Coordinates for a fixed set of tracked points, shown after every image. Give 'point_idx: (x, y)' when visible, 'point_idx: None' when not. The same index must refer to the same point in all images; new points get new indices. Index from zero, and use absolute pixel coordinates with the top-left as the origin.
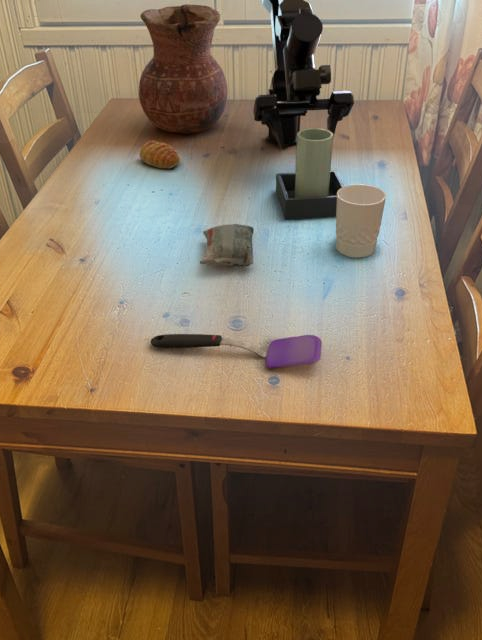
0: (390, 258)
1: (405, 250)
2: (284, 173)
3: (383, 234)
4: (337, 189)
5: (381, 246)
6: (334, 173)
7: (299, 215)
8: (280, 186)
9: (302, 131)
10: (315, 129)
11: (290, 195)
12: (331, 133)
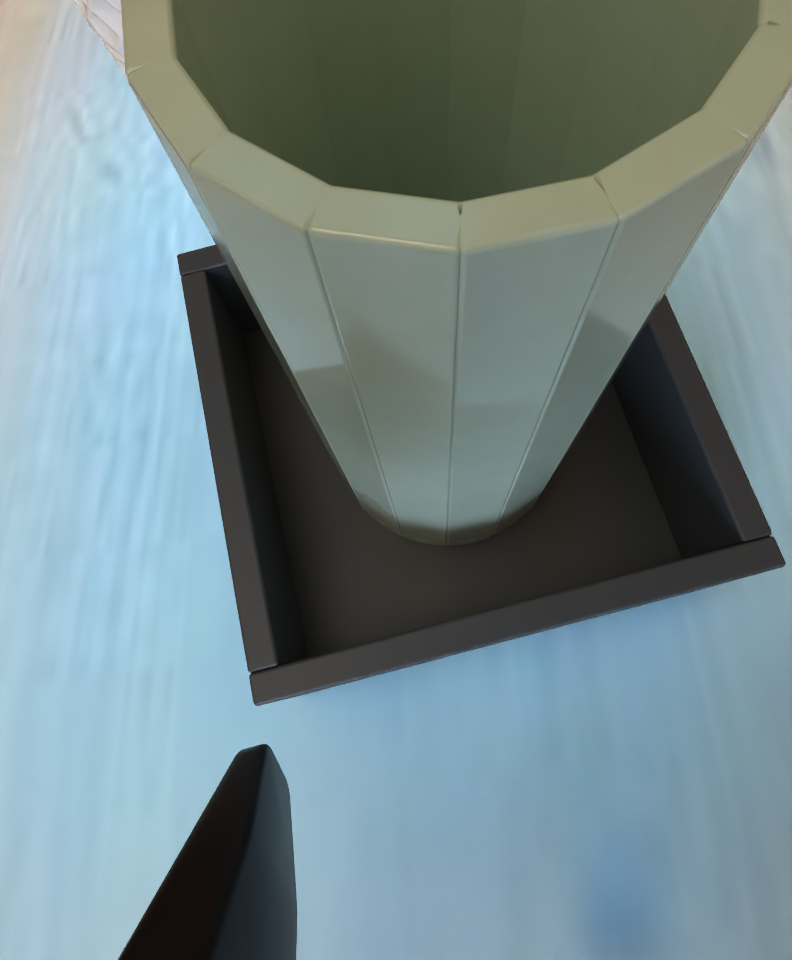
0: (80, 23)
1: (6, 84)
2: (712, 573)
3: (72, 189)
4: (266, 505)
5: (100, 95)
6: (272, 631)
7: None
8: (684, 343)
9: (742, 49)
10: (477, 205)
11: (593, 506)
12: (145, 36)
